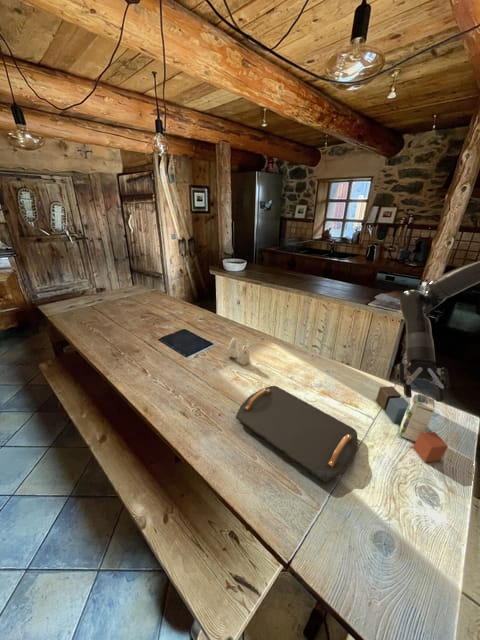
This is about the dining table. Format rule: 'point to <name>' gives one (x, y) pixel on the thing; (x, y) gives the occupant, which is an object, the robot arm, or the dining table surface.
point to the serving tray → (300, 431)
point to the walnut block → (386, 396)
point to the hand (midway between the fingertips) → (424, 399)
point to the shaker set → (233, 352)
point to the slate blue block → (396, 409)
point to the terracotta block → (430, 447)
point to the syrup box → (417, 416)
